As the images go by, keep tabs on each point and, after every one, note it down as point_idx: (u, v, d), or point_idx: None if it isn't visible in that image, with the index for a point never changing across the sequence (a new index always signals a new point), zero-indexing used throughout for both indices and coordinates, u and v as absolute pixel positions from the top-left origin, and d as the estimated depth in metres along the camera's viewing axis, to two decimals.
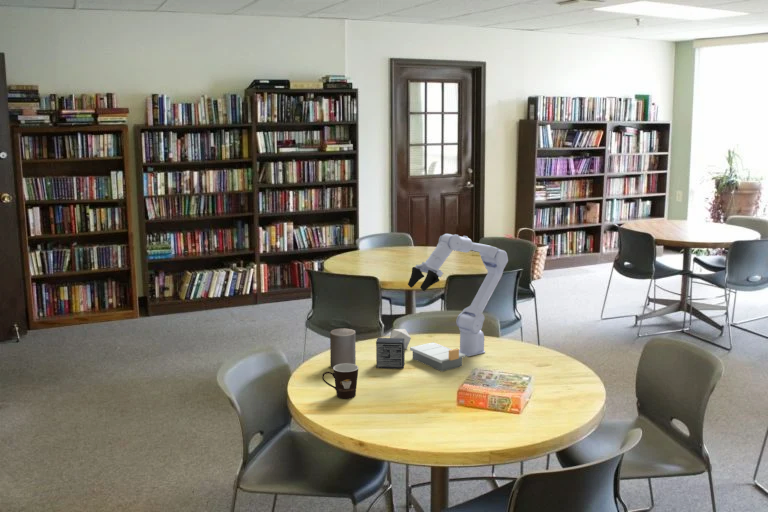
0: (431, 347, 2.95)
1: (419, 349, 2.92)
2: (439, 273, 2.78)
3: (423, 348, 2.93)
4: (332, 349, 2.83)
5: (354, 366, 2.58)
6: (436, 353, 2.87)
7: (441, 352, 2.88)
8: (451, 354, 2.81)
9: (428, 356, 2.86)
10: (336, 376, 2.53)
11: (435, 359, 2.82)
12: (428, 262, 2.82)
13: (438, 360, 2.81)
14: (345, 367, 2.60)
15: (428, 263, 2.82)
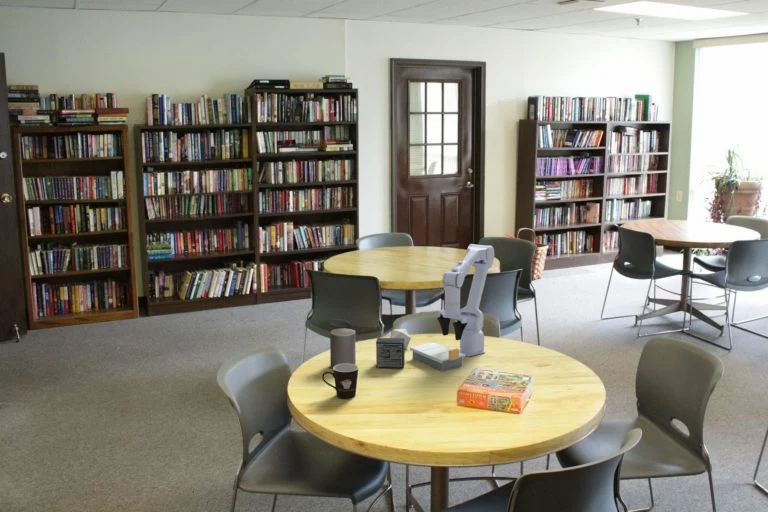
0: (431, 347, 2.95)
1: (419, 349, 2.92)
2: (463, 321, 2.81)
3: (423, 348, 2.93)
4: (332, 349, 2.83)
5: (354, 366, 2.58)
6: (436, 353, 2.87)
7: (441, 352, 2.88)
8: (451, 354, 2.81)
9: (428, 356, 2.86)
10: (336, 376, 2.53)
11: (435, 359, 2.82)
12: (447, 312, 2.84)
13: (438, 360, 2.81)
14: (345, 367, 2.60)
15: (448, 314, 2.84)
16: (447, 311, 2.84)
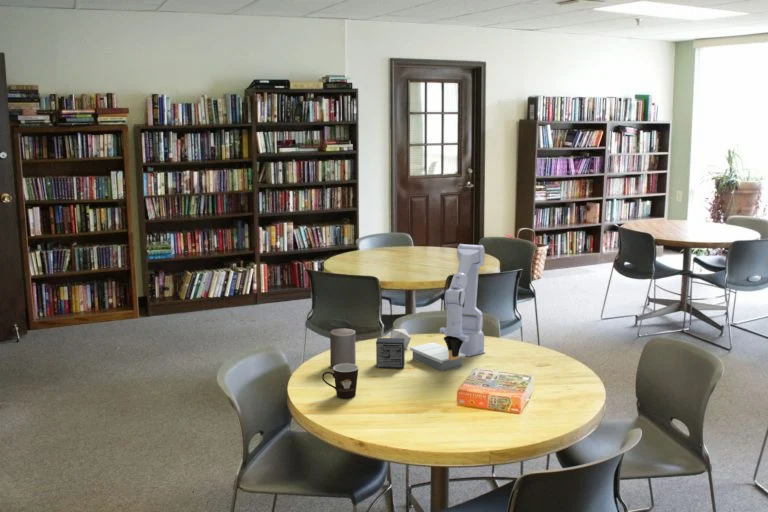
0: (431, 347, 2.95)
1: (419, 349, 2.92)
2: (465, 340, 2.75)
3: (423, 348, 2.93)
4: (332, 349, 2.83)
5: (354, 366, 2.58)
6: (436, 353, 2.87)
7: (441, 352, 2.88)
8: (451, 354, 2.81)
9: (428, 356, 2.86)
10: (336, 376, 2.53)
11: (435, 359, 2.82)
12: (449, 331, 2.78)
13: (438, 360, 2.81)
14: (345, 367, 2.60)
15: (450, 332, 2.78)
16: (449, 329, 2.78)
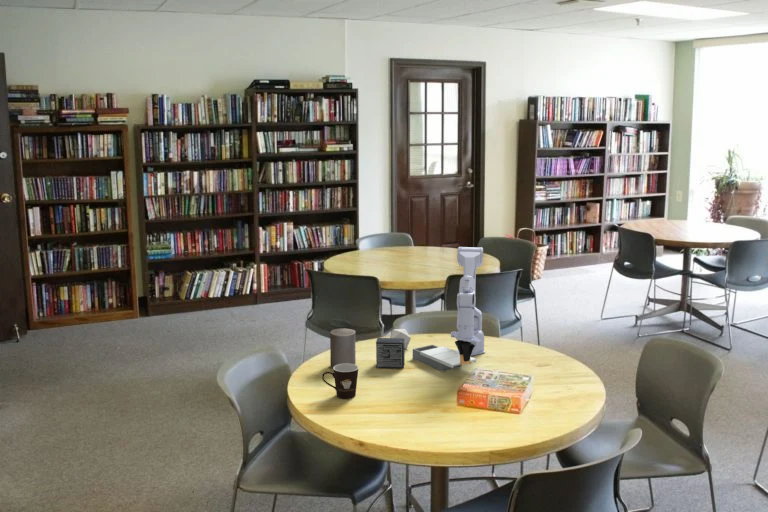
0: (441, 351, 2.90)
1: (429, 353, 2.87)
2: (477, 344, 2.70)
3: (434, 353, 2.88)
4: (332, 349, 2.83)
5: (354, 366, 2.58)
6: (447, 357, 2.82)
7: (452, 357, 2.83)
8: (462, 359, 2.76)
9: (439, 361, 2.80)
10: (336, 376, 2.53)
11: (446, 364, 2.77)
12: (461, 335, 2.73)
13: (449, 365, 2.76)
14: (345, 367, 2.60)
15: (461, 336, 2.73)
16: (460, 333, 2.73)
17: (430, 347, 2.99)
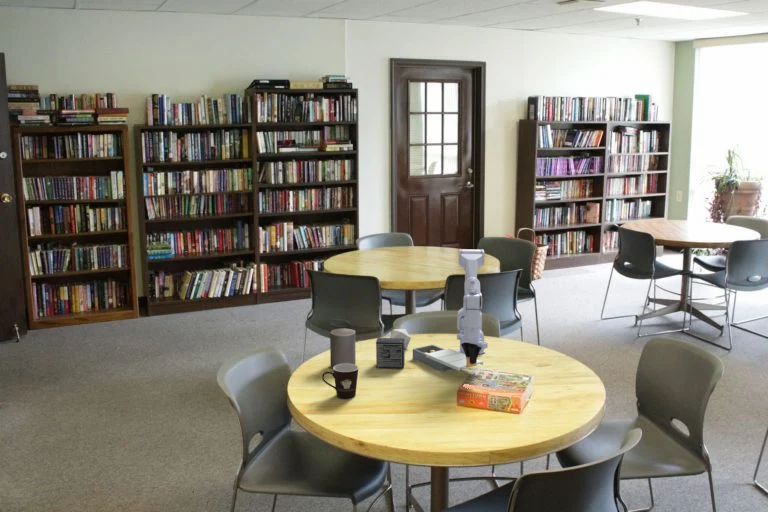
0: (447, 353, 2.87)
1: (435, 356, 2.84)
2: (484, 346, 2.67)
3: (439, 355, 2.85)
4: (332, 349, 2.83)
5: (354, 366, 2.58)
6: (453, 360, 2.79)
7: (458, 359, 2.80)
8: (469, 361, 2.73)
9: (445, 363, 2.78)
10: (336, 376, 2.53)
11: (452, 366, 2.74)
12: (467, 337, 2.70)
13: (455, 367, 2.73)
14: (345, 367, 2.60)
15: (468, 338, 2.70)
16: (467, 336, 2.70)
17: (430, 347, 2.99)
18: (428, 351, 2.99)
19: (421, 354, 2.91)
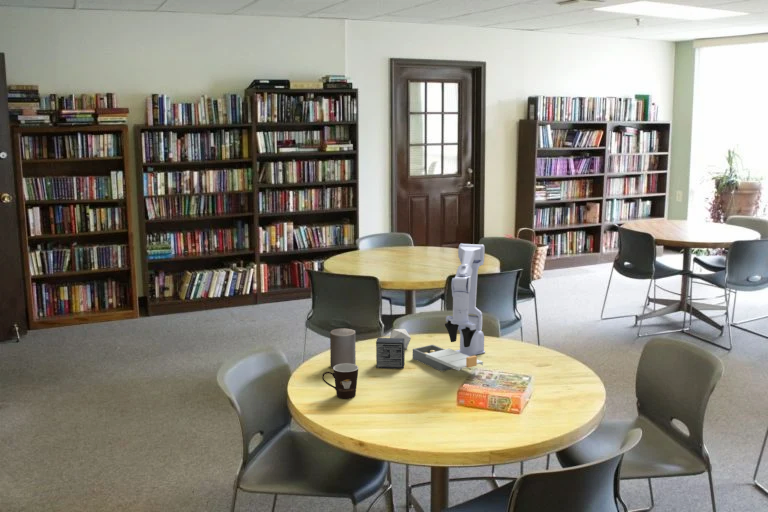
0: (447, 353, 2.87)
1: (435, 356, 2.84)
2: (472, 328, 2.73)
3: (439, 355, 2.85)
4: (332, 349, 2.83)
5: (354, 366, 2.58)
6: (453, 360, 2.79)
7: (458, 359, 2.80)
8: (469, 361, 2.73)
9: (445, 363, 2.78)
10: (336, 376, 2.53)
11: (452, 366, 2.74)
12: (456, 319, 2.76)
13: (455, 367, 2.73)
14: (345, 367, 2.60)
15: (456, 320, 2.76)
16: (455, 317, 2.76)
17: (430, 347, 2.99)
18: (428, 351, 2.99)
19: (421, 354, 2.91)
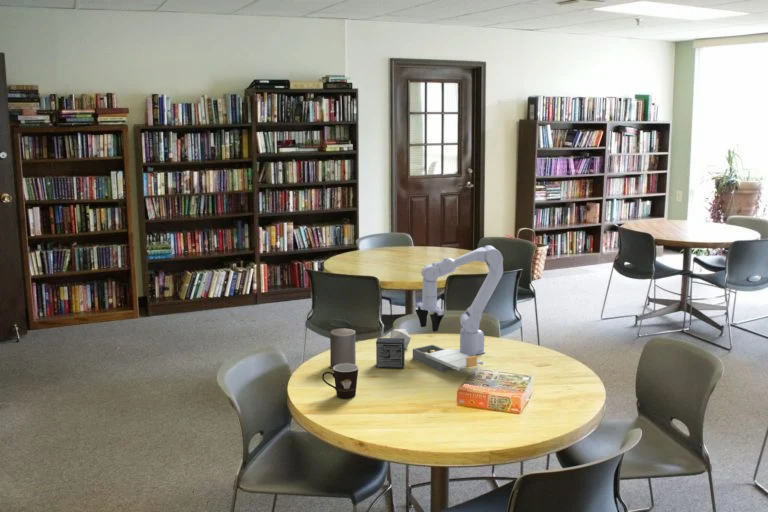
0: (447, 353, 2.87)
1: (435, 356, 2.84)
2: (440, 313, 2.92)
3: (439, 355, 2.85)
4: (332, 349, 2.83)
5: (354, 366, 2.58)
6: (453, 360, 2.79)
7: (458, 359, 2.80)
8: (469, 361, 2.73)
9: (445, 363, 2.78)
10: (336, 376, 2.53)
11: (452, 366, 2.74)
12: (425, 305, 2.96)
13: (455, 367, 2.73)
14: (345, 367, 2.60)
15: (425, 306, 2.96)
16: (424, 303, 2.96)
17: (430, 347, 2.99)
18: (428, 351, 2.99)
19: (421, 354, 2.91)
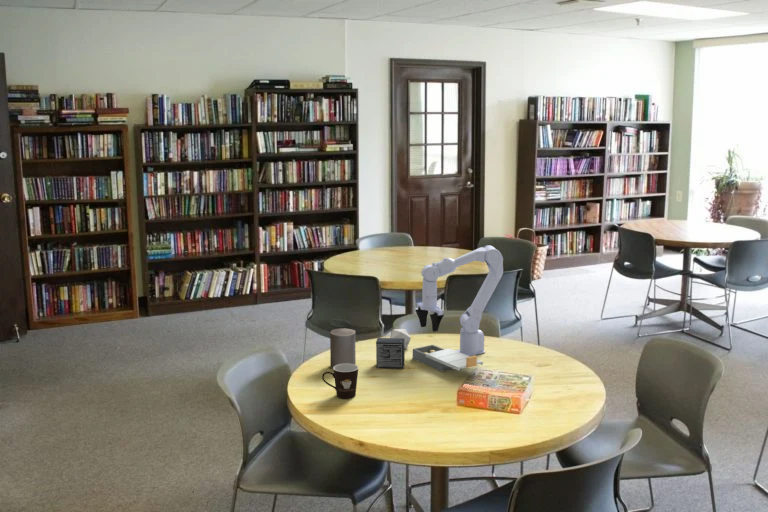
0: (447, 353, 2.87)
1: (435, 356, 2.84)
2: (440, 313, 2.92)
3: (439, 355, 2.85)
4: (332, 349, 2.83)
5: (354, 366, 2.58)
6: (453, 360, 2.79)
7: (458, 359, 2.80)
8: (469, 361, 2.73)
9: (445, 363, 2.78)
10: (336, 376, 2.53)
11: (452, 366, 2.74)
12: (425, 305, 2.96)
13: (455, 367, 2.73)
14: (345, 367, 2.60)
15: (425, 306, 2.96)
16: (424, 303, 2.96)
17: (430, 347, 2.99)
18: (428, 351, 2.99)
19: (421, 354, 2.91)
